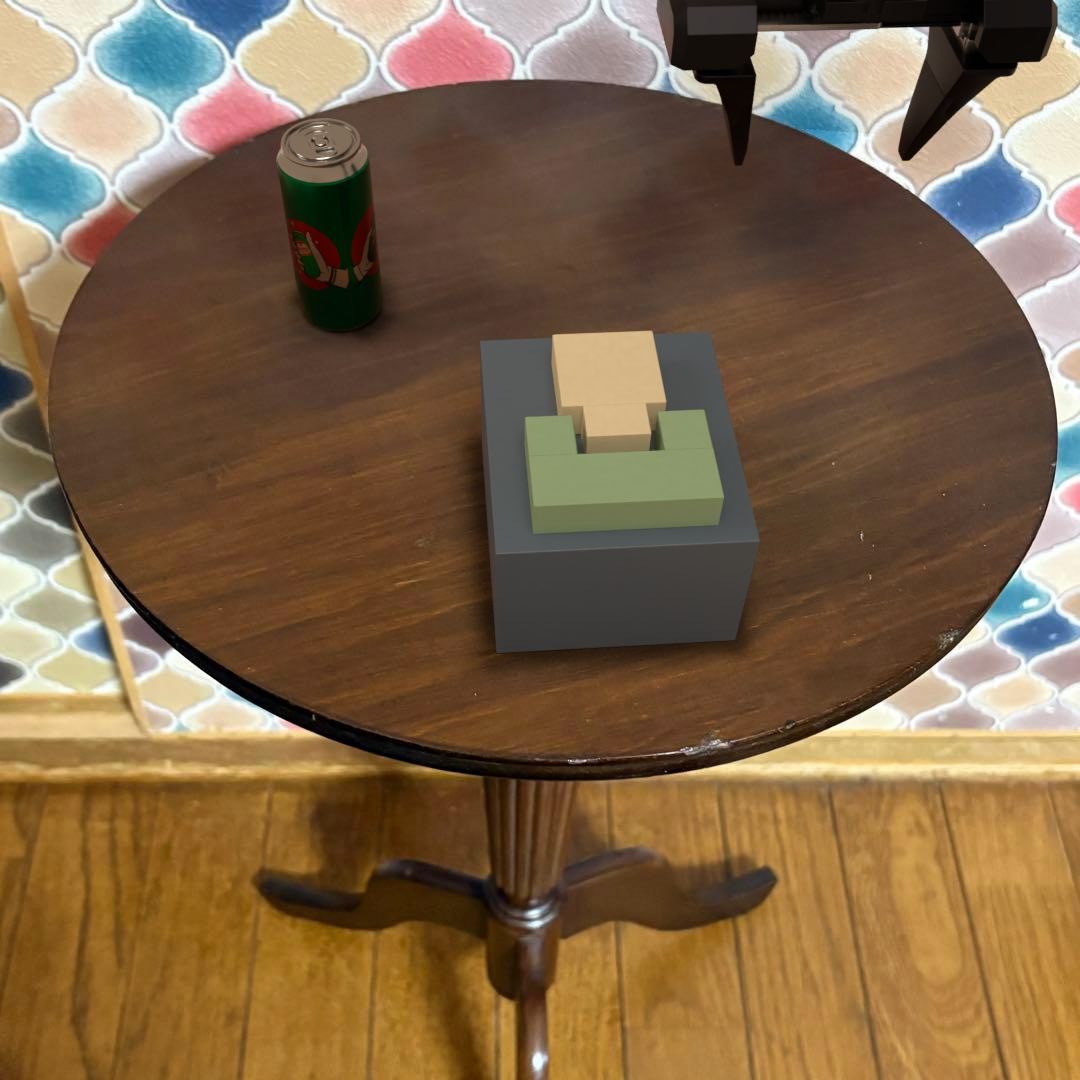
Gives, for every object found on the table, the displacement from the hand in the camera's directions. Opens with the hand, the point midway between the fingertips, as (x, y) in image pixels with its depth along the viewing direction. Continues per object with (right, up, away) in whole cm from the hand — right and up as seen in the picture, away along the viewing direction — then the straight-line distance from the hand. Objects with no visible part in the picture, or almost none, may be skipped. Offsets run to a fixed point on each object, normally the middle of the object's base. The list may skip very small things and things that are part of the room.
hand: (820, 158), depth 70 cm
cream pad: (-12, -14, -6) cm, 19 cm away
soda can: (-27, -7, +10) cm, 30 cm away
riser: (-12, -21, -1) cm, 24 cm away
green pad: (-12, -18, -10) cm, 23 cm away
